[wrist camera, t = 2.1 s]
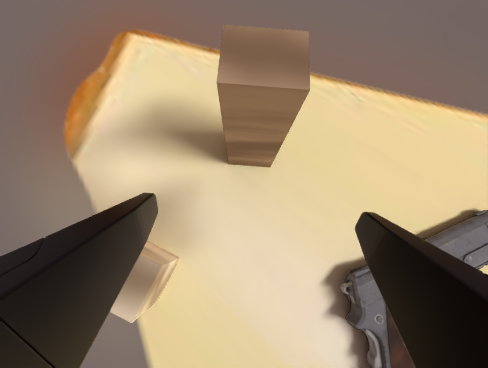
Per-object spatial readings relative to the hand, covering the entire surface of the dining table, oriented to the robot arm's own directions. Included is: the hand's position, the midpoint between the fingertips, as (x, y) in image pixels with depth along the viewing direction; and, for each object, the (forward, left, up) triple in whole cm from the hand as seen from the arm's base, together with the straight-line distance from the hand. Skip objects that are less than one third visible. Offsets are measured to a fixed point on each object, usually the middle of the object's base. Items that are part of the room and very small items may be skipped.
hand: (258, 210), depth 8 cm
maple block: (-10, +5, -13) cm, 17 cm away
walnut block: (+7, +4, -13) cm, 16 cm away
